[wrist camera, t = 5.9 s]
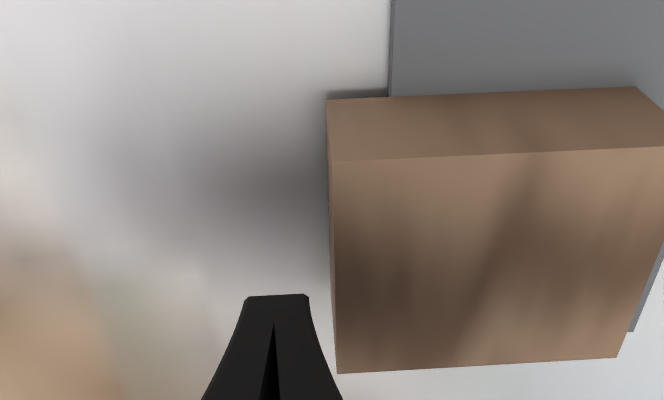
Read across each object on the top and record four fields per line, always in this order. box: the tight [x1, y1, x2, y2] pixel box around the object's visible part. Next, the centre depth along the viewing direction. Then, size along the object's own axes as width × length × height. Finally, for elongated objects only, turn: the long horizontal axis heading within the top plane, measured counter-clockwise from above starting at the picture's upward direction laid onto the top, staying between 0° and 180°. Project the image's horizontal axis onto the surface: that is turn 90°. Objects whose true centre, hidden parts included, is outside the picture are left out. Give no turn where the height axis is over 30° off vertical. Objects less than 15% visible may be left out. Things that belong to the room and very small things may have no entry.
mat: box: [388, 0, 664, 332], centre depth 17 cm, size 12×9×1 cm
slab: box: [326, 86, 664, 374], centre depth 16 cm, size 7×3×8 cm
